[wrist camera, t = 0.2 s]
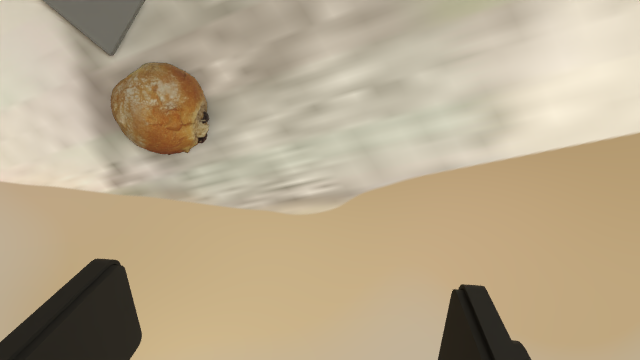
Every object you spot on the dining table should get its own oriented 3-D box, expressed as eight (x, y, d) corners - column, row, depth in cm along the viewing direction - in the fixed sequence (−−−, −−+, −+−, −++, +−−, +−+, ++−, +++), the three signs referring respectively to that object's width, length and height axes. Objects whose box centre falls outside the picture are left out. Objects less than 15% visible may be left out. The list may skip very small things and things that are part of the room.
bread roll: (194, 54, 41) (138, 29, 34) (235, 126, 40) (186, 116, 32) (141, 103, 45) (78, 90, 37) (176, 172, 43) (119, 173, 36)
